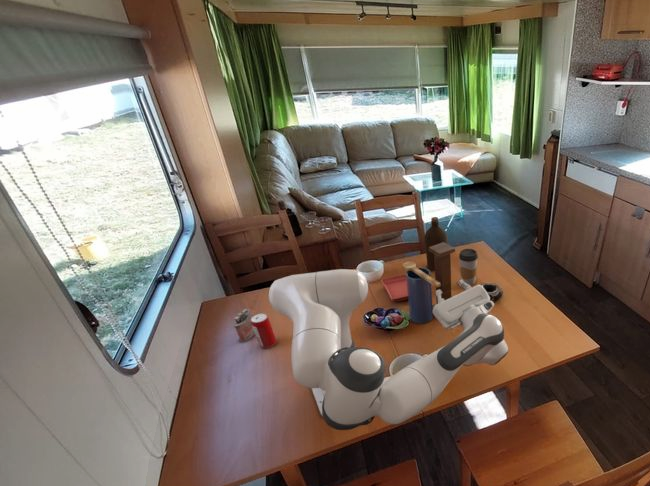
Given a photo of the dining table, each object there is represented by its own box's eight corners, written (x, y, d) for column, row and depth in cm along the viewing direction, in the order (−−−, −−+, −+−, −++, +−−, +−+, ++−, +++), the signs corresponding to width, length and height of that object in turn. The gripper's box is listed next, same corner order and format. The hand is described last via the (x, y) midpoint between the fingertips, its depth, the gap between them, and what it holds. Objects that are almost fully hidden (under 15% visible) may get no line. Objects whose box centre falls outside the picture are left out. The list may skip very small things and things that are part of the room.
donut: (472, 301, 160) (472, 293, 158) (478, 287, 170) (478, 279, 168) (500, 305, 158) (500, 297, 156) (504, 290, 167) (504, 282, 165)
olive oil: (446, 272, 181) (444, 223, 168) (424, 271, 182) (421, 222, 168) (449, 261, 190) (447, 214, 177) (428, 260, 191) (425, 213, 177)
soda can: (280, 340, 139) (271, 313, 133) (269, 350, 135) (259, 323, 128) (267, 337, 140) (257, 311, 134) (256, 347, 136) (246, 320, 129)
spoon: (444, 284, 134) (444, 281, 133) (433, 289, 131) (432, 286, 130) (411, 262, 147) (411, 260, 147) (400, 267, 144) (400, 264, 144)
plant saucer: (381, 285, 171) (380, 278, 169) (419, 276, 178) (419, 270, 176) (392, 306, 157) (391, 299, 156) (433, 295, 164) (432, 289, 162)
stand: (458, 309, 155) (457, 248, 140) (442, 317, 151) (439, 254, 136) (445, 301, 160) (443, 241, 145) (430, 308, 156) (426, 247, 141)
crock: (435, 320, 149) (433, 276, 138) (413, 325, 146) (409, 281, 136) (429, 308, 156) (426, 265, 145) (407, 312, 153) (403, 269, 143)
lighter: (245, 342, 138) (236, 320, 133) (237, 341, 139) (228, 319, 133) (260, 329, 145) (252, 307, 139) (252, 327, 145) (244, 306, 140)
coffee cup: (480, 280, 175) (481, 251, 167) (471, 288, 169) (471, 258, 161) (465, 275, 178) (465, 246, 170) (455, 283, 172) (455, 253, 164)
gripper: (444, 336, 120) (420, 302, 124) (490, 311, 131) (468, 280, 135) (450, 327, 115) (425, 292, 119) (498, 302, 126) (474, 270, 130)
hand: (448, 285), depth 127 cm, fingers open, 8 cm apart
